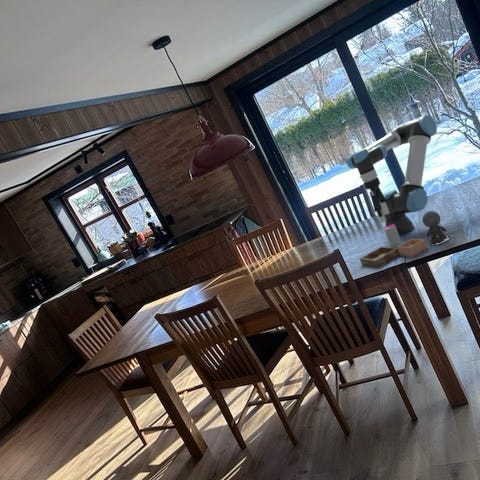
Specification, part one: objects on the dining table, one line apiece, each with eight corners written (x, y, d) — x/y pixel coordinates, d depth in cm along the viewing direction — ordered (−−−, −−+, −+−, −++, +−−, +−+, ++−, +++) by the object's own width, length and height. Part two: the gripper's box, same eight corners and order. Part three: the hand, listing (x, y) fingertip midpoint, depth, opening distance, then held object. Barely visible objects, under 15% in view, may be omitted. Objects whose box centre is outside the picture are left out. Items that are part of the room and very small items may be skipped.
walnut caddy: (383, 252, 226) (381, 246, 226) (401, 254, 213) (398, 248, 212) (361, 264, 223) (359, 258, 223) (378, 267, 210) (375, 261, 209)
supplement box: (403, 246, 223) (395, 225, 221) (391, 250, 224) (384, 230, 222) (401, 243, 228) (393, 223, 226) (390, 247, 230) (382, 227, 228)
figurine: (447, 235, 211) (437, 206, 209) (450, 241, 202) (439, 211, 200) (429, 240, 214) (418, 212, 212) (431, 247, 205) (420, 218, 203)
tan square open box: (415, 247, 213) (411, 238, 213) (427, 249, 205) (424, 239, 204) (400, 256, 211) (396, 246, 210) (412, 257, 203) (409, 248, 202)
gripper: (367, 176, 232) (381, 213, 236) (358, 188, 211) (374, 228, 215) (381, 171, 229) (395, 208, 232) (373, 182, 207) (389, 223, 211)
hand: (385, 218), depth 223 cm, fingers open, 13 cm apart
